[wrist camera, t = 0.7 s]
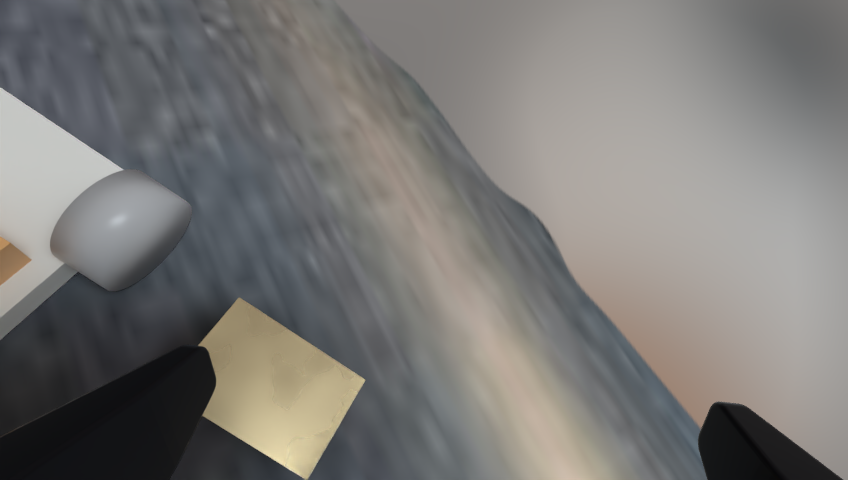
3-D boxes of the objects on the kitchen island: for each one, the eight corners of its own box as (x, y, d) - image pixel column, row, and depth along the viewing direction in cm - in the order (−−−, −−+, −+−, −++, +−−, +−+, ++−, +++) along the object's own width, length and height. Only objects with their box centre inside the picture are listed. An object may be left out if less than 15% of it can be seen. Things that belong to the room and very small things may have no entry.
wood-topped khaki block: (290, 467, 20) (307, 480, 15) (181, 399, 20) (160, 389, 15) (337, 391, 22) (365, 379, 17) (239, 328, 22) (239, 297, 17)
